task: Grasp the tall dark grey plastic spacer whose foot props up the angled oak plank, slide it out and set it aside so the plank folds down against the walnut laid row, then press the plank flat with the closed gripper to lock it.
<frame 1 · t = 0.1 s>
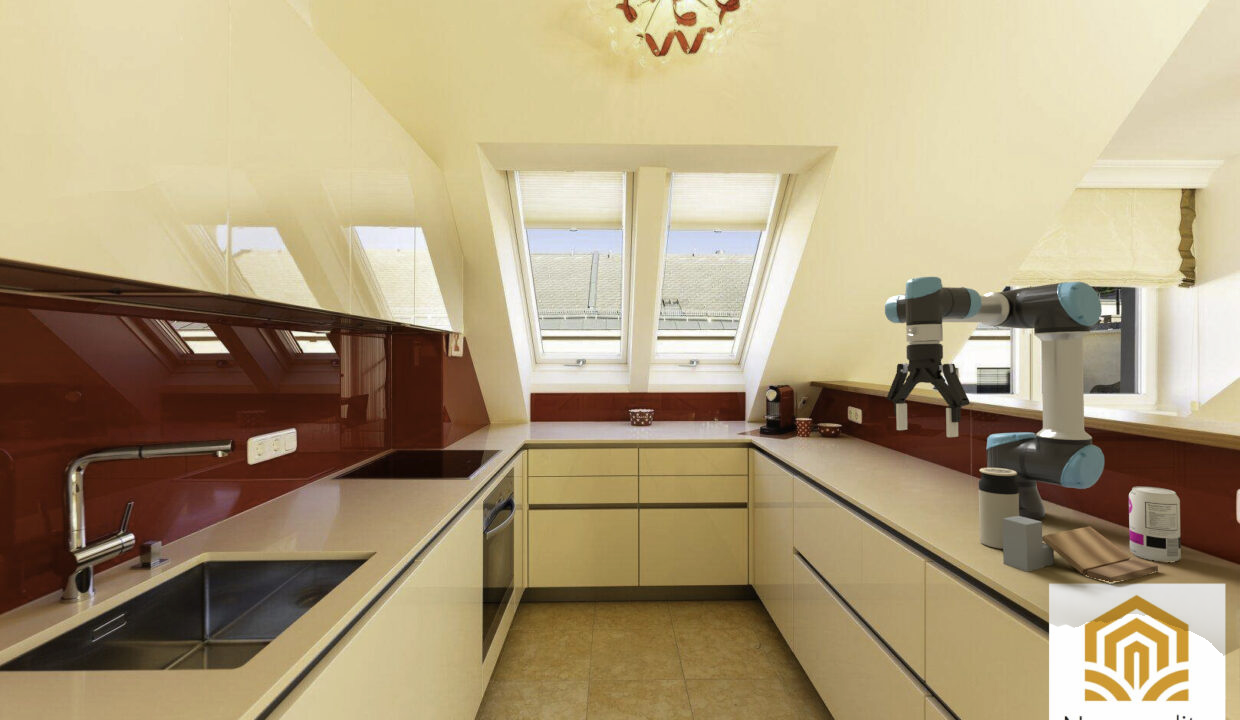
hand: (926, 433, 129), 28 cm above the worktop, fingers open, 13 cm apart
laid row: (1123, 574, 113), on the worktop
spacer: (1022, 565, 119), on the worktop
travel mug: (999, 545, 133), on the worktop
supplement can: (1154, 557, 123), on the worktop
plank: (1086, 549, 120), point 3 cm above the worktop, hinge at 31.5°
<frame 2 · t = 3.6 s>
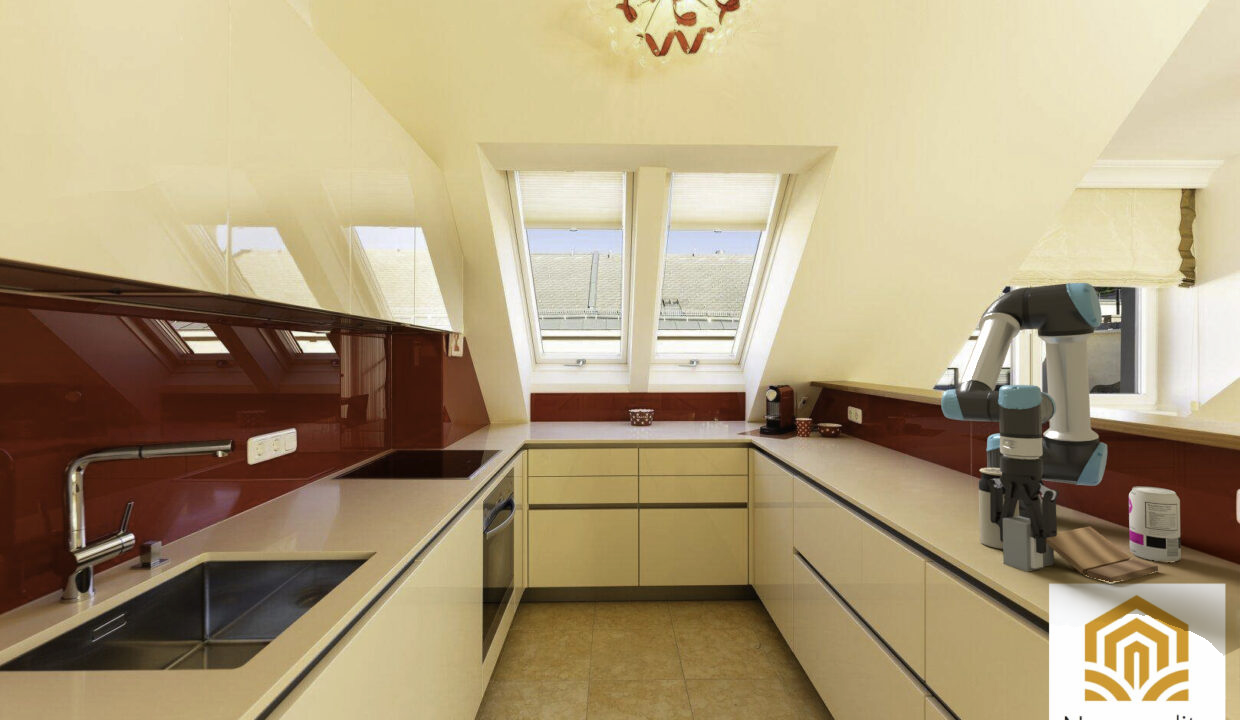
hand: (1022, 562, 119), 1 cm above the worktop, fingers closed on spacer, 5 cm apart
spacer: (1022, 565, 119), on the worktop, touching gripper
everything else where it was.
when the fingers open (2 cm above the worktop, at t = 8.5 s): spacer drops 2 cm, on the worktop.
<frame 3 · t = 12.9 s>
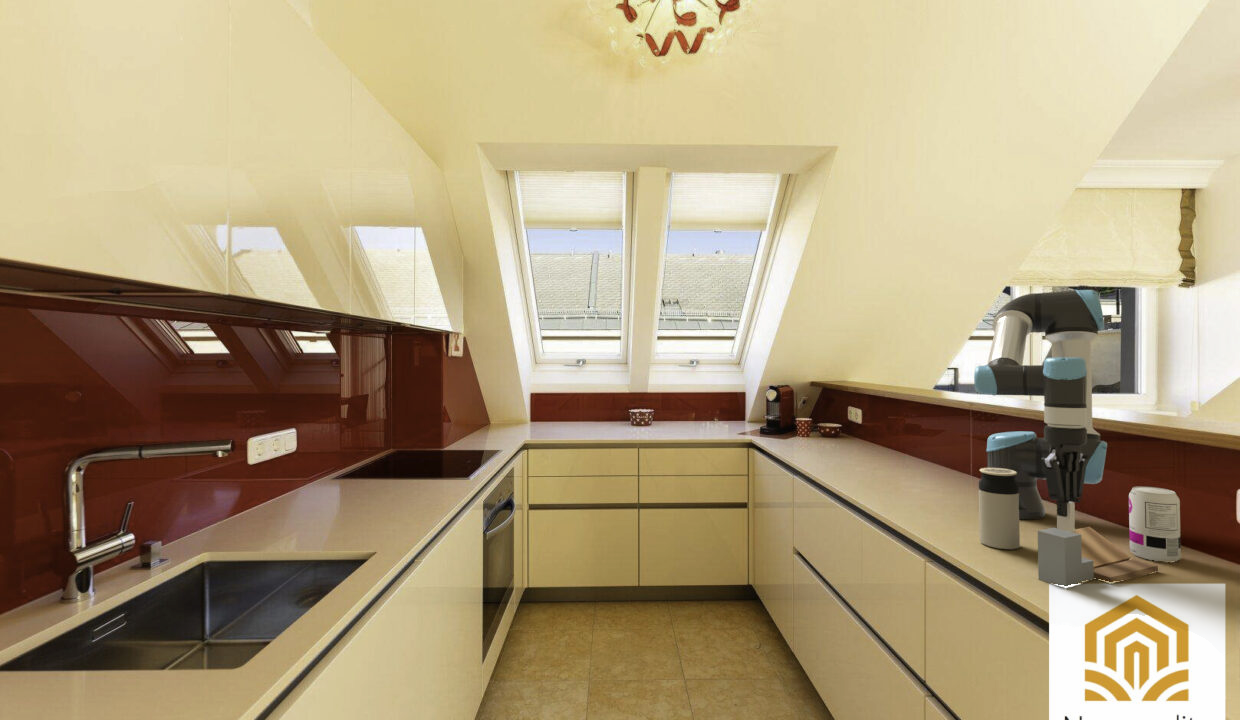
hand: (1065, 529, 123), 6 cm above the worktop, fingers closed
spacer: (1060, 581, 111), on the worktop
plank: (1085, 549, 120), point 3 cm above the worktop, hinge at 30.6°, touching gripper
everything else where it was.
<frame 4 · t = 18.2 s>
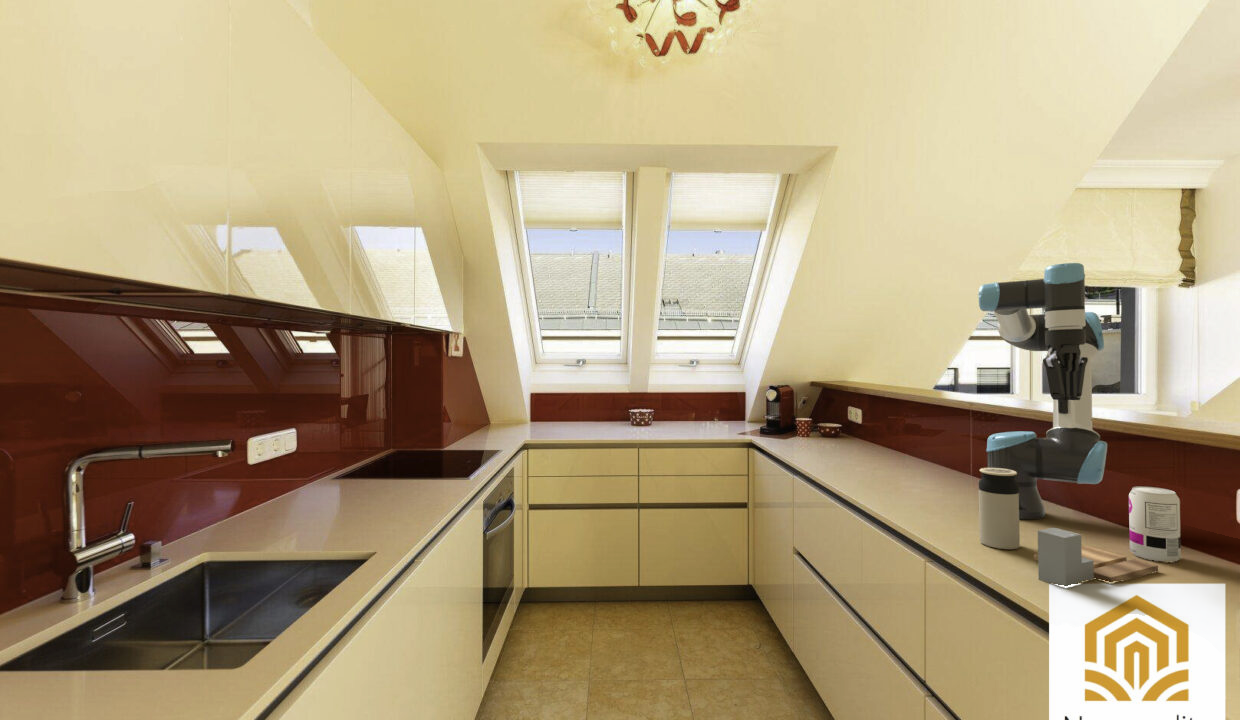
hand: (1066, 427, 131), 28 cm above the worktop, fingers closed
plank: (1080, 558, 121), point 1 cm above the worktop, hinge at -0.7°
everything else where it was.
at the end: plank at -1° (first picture: +32°); spacer moved 8.8 cm from its start; the gripper is holding nothing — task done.
